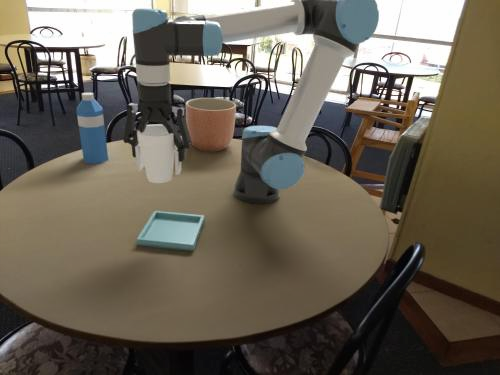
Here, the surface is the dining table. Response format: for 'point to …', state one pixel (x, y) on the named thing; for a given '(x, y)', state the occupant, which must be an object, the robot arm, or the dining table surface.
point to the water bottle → (92, 130)
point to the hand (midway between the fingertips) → (159, 170)
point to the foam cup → (157, 152)
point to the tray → (171, 231)
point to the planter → (210, 123)
